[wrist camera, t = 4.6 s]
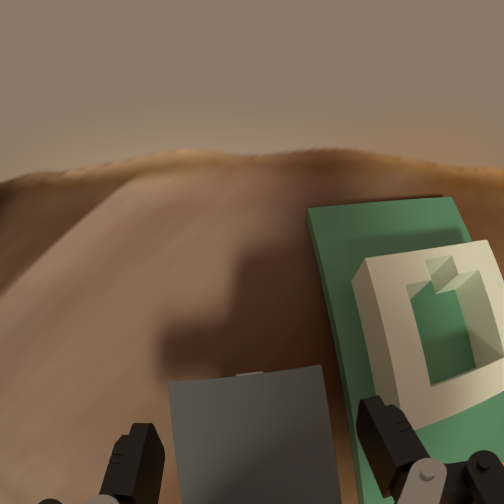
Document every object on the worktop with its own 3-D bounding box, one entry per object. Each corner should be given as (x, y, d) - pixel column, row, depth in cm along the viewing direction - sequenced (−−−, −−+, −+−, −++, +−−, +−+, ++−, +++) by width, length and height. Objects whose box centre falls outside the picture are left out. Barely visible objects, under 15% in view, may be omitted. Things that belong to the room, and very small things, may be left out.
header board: (360, 518, 12) (384, 541, 9) (305, 218, 22) (313, 178, 18) (511, 449, 13) (551, 447, 9) (445, 205, 22) (467, 172, 19)
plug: (225, 465, 15) (185, 520, 6) (216, 384, 17) (166, 352, 8) (298, 456, 15) (341, 504, 6) (287, 376, 17) (315, 334, 8)
